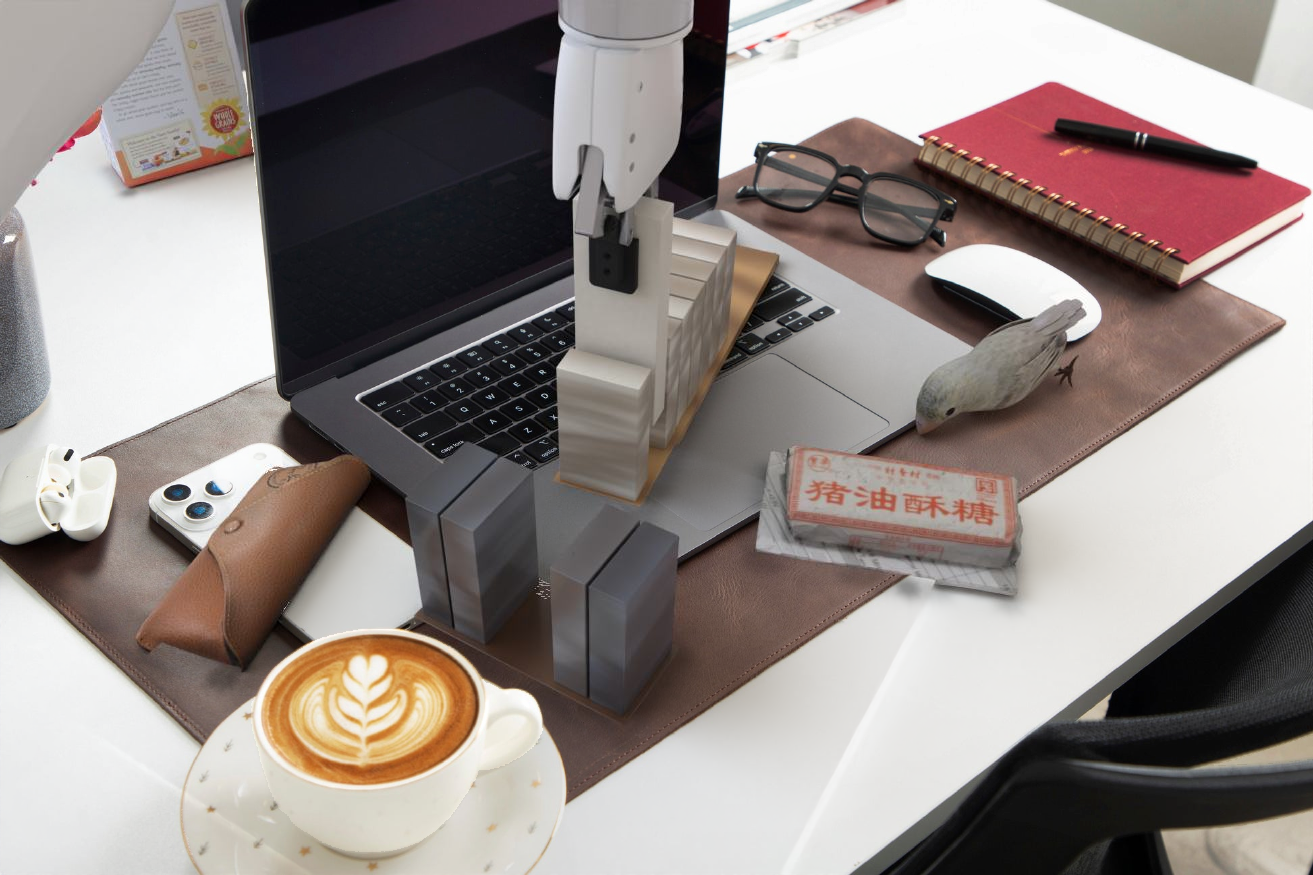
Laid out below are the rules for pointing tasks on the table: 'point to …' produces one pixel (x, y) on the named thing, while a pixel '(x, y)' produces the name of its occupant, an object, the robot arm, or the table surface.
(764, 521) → the packaged product
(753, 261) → the cream book rack
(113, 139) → the cracker box
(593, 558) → the grey book rack
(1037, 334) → the decorative bird
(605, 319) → the cream book
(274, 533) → the sunglasses case
